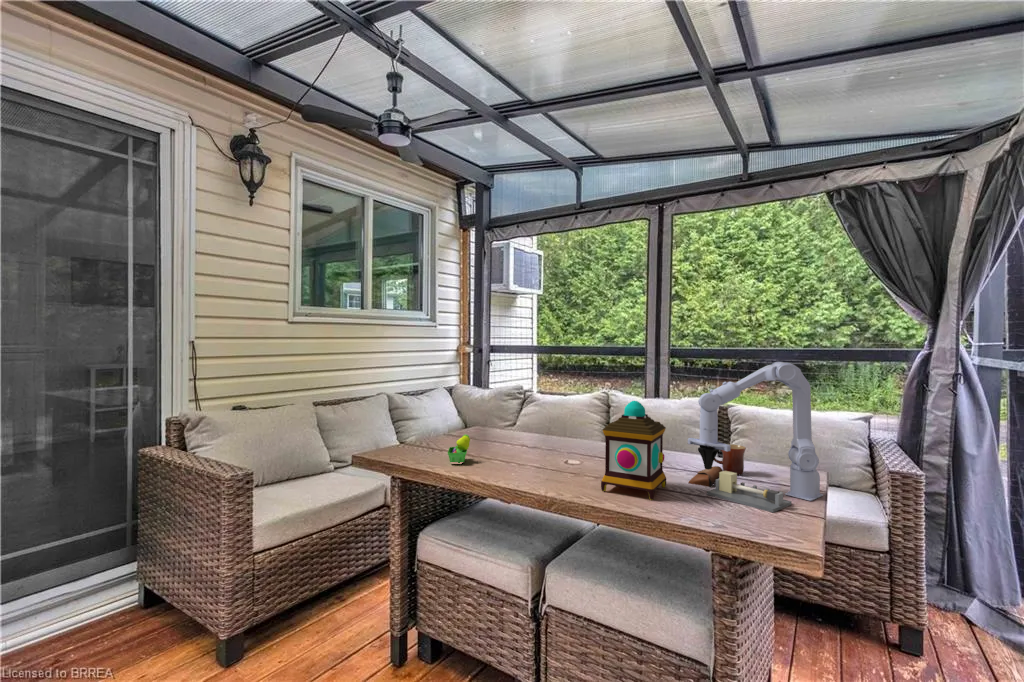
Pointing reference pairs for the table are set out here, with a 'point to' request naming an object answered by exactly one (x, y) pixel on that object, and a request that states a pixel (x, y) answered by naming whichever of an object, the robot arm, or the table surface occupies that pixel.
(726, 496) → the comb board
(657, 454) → the decorative lantern
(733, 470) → the mug
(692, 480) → the sunglasses case
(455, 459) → the fruit basket
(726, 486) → the cream block on rod
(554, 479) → the table surface
